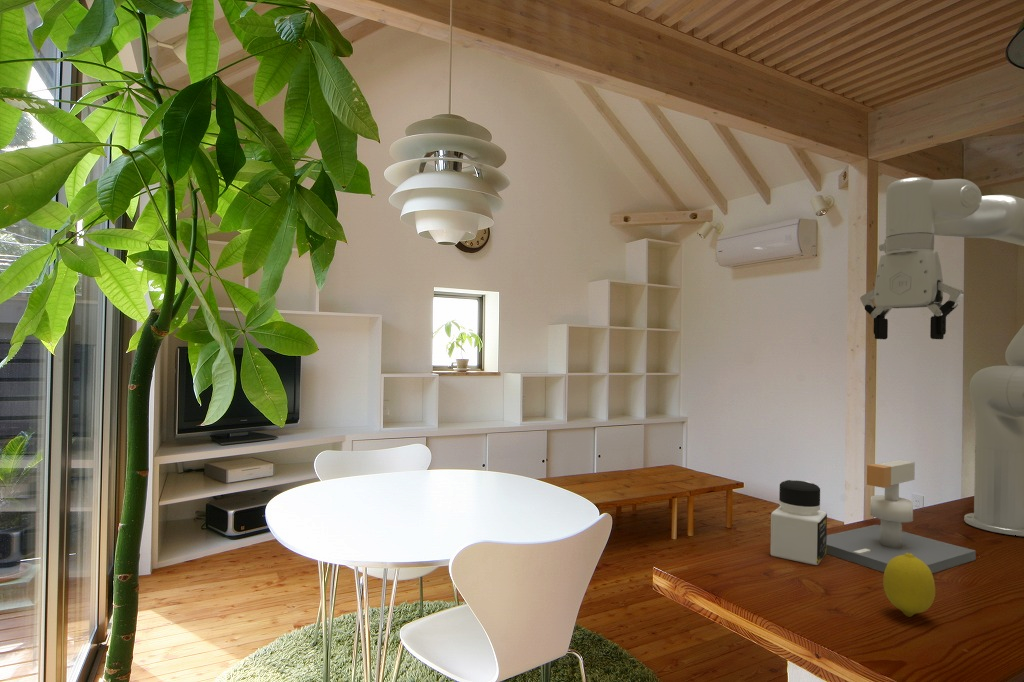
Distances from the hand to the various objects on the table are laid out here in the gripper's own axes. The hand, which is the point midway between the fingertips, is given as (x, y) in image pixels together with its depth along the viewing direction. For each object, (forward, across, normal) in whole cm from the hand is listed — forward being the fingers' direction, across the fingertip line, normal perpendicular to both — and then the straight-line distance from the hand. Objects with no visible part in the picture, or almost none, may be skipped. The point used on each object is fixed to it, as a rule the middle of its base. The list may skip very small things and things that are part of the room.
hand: (908, 339), depth 111 cm
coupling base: (+36, +4, -13) cm, 39 cm away
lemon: (+36, +19, -36) cm, 55 cm away
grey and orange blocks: (+30, +4, -13) cm, 33 cm away
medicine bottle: (+36, -2, -28) cm, 46 cm away
